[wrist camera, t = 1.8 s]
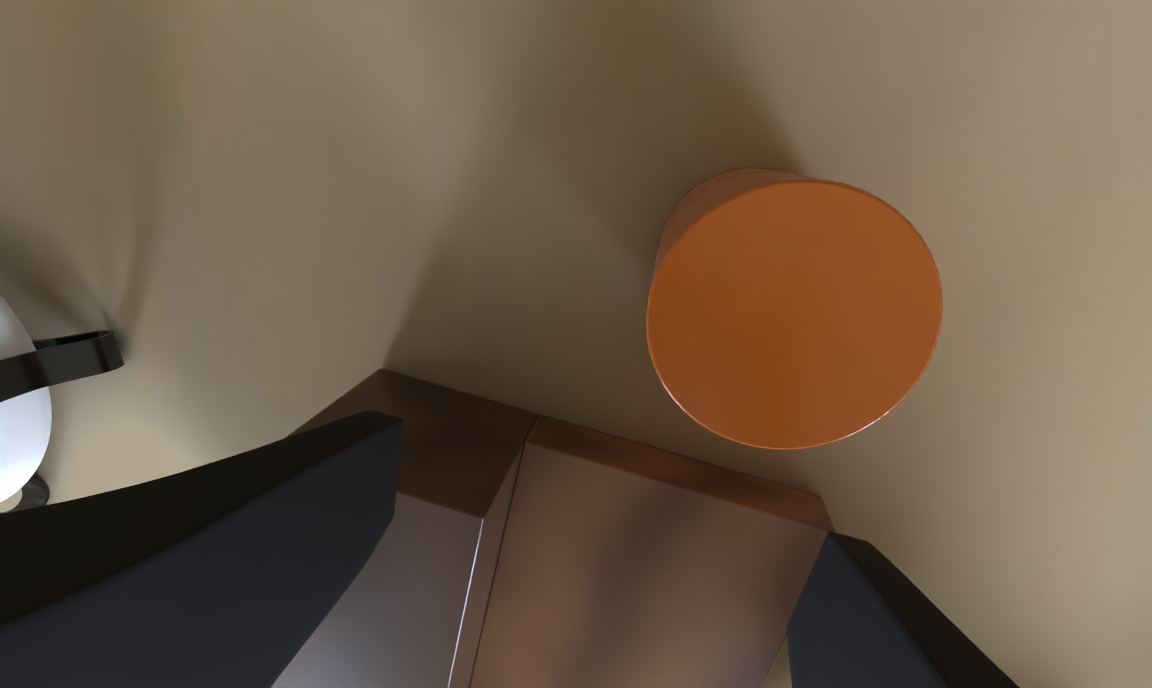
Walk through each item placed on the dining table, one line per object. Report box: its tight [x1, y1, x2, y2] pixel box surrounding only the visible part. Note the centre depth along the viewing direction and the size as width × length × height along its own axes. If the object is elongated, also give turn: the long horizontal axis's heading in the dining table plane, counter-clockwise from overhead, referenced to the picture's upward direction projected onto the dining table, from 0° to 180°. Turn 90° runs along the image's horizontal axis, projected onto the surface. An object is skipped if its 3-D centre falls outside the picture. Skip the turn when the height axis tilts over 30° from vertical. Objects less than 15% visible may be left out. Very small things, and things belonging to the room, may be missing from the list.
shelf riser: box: [270, 369, 836, 688], centre depth 19 cm, size 16×12×6 cm
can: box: [646, 168, 943, 449], centre depth 14 cm, size 5×5×7 cm
